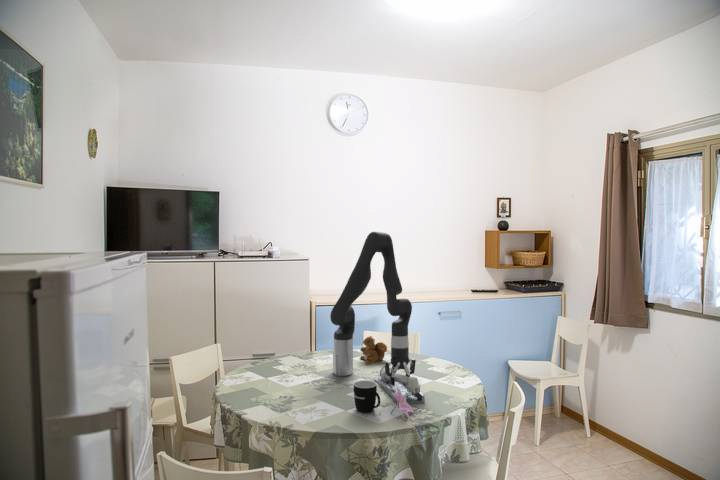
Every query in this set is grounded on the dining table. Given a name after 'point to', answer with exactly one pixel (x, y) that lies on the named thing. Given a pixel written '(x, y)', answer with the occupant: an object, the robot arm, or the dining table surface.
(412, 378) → the electric toothbrush
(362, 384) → the mug
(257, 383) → the dining table surface
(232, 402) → the dining table surface
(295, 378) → the dining table surface
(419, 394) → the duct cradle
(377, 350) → the stuffed squirrel
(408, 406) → the lily
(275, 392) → the dining table surface
